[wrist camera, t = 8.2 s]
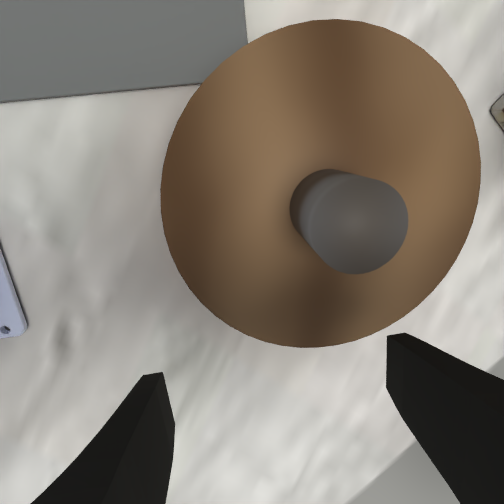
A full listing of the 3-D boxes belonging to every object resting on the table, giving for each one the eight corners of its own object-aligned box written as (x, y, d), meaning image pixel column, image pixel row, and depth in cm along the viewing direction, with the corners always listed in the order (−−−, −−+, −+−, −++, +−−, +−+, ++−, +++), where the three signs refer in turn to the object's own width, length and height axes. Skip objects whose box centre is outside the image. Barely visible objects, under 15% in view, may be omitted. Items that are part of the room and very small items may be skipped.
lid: (197, 357, 17) (190, 433, 12) (128, 52, 12) (83, 7, 8) (456, 310, 17) (535, 367, 13) (474, 7, 13) (599, -58, 9)
